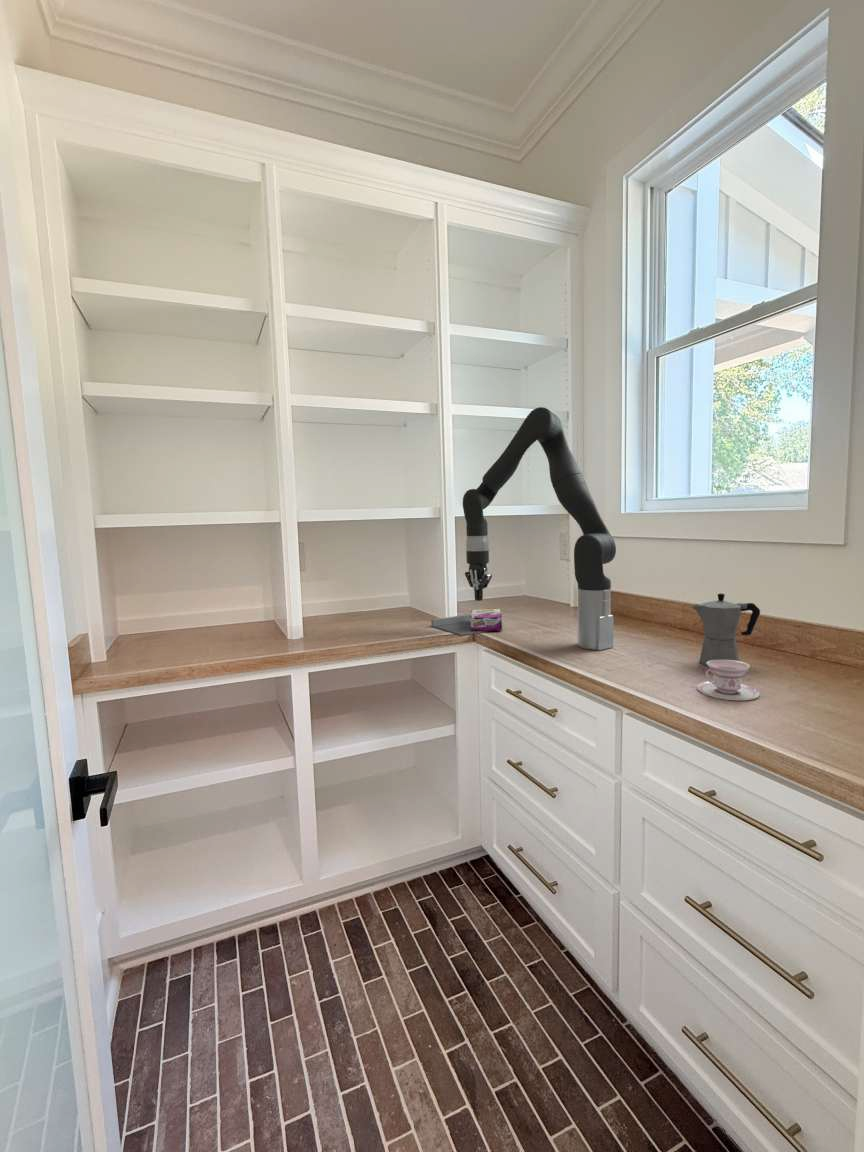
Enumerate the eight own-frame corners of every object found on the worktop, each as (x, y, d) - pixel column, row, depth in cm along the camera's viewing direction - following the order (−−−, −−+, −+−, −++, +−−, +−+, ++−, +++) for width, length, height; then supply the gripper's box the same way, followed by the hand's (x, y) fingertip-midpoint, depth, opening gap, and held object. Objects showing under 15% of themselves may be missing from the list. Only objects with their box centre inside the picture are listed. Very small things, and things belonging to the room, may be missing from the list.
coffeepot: (694, 667, 133) (696, 596, 131) (687, 657, 142) (688, 590, 140) (764, 669, 129) (767, 596, 127) (752, 659, 138) (754, 591, 136)
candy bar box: (469, 617, 180) (470, 609, 196) (469, 631, 180) (471, 622, 197) (502, 616, 179) (501, 608, 195) (502, 630, 179) (501, 621, 195)
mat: (499, 629, 184) (499, 622, 184) (461, 635, 176) (461, 628, 176) (467, 620, 201) (467, 614, 200) (431, 626, 192) (431, 619, 192)
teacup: (736, 682, 121) (737, 656, 120) (773, 700, 109) (774, 671, 108) (685, 685, 120) (686, 658, 119) (716, 703, 108) (717, 673, 108)
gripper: (498, 549, 174) (499, 601, 176) (475, 548, 185) (476, 597, 187) (480, 550, 170) (481, 604, 172) (457, 549, 181) (458, 599, 183)
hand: (478, 600), depth 179 cm, fingers closed
